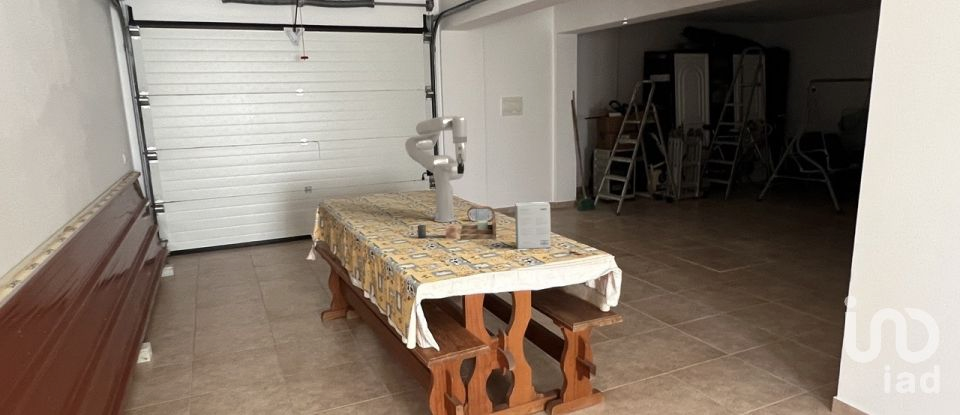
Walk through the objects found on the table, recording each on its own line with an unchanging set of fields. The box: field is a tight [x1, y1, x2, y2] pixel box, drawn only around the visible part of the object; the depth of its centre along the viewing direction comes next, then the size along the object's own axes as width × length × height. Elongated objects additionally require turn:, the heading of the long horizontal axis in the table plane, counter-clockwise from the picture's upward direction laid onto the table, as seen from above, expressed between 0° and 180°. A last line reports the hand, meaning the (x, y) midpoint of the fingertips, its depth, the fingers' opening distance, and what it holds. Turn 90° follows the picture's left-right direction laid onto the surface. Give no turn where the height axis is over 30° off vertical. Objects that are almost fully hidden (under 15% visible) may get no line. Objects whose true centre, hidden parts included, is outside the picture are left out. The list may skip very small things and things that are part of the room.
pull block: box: [417, 224, 458, 239], centre depth 290 cm, size 19×5×6 cm, turn 89°
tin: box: [466, 205, 496, 223], centre depth 324 cm, size 15×3×8 cm, turn 84°
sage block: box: [477, 221, 489, 230], centre depth 301 cm, size 5×5×5 cm
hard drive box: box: [514, 201, 552, 250], centre depth 267 cm, size 16×8×20 cm, turn 92°
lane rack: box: [459, 212, 497, 241], centre depth 295 cm, size 18×23×8 cm
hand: (460, 172), depth 313 cm, fingers open, 9 cm apart
